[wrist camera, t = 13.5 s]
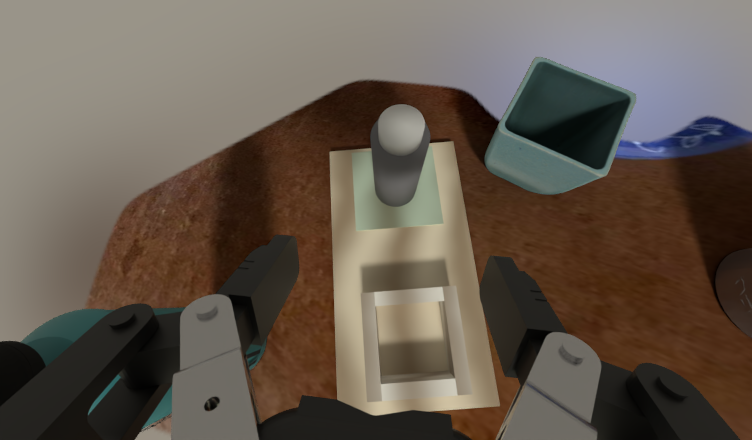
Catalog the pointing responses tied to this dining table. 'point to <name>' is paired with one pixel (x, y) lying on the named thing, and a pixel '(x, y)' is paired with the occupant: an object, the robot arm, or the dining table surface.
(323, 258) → the dining table surface
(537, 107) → the flower pot
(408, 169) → the grey capped cylinder
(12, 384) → the beverage bottle
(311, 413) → the robot arm
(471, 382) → the cream tray
